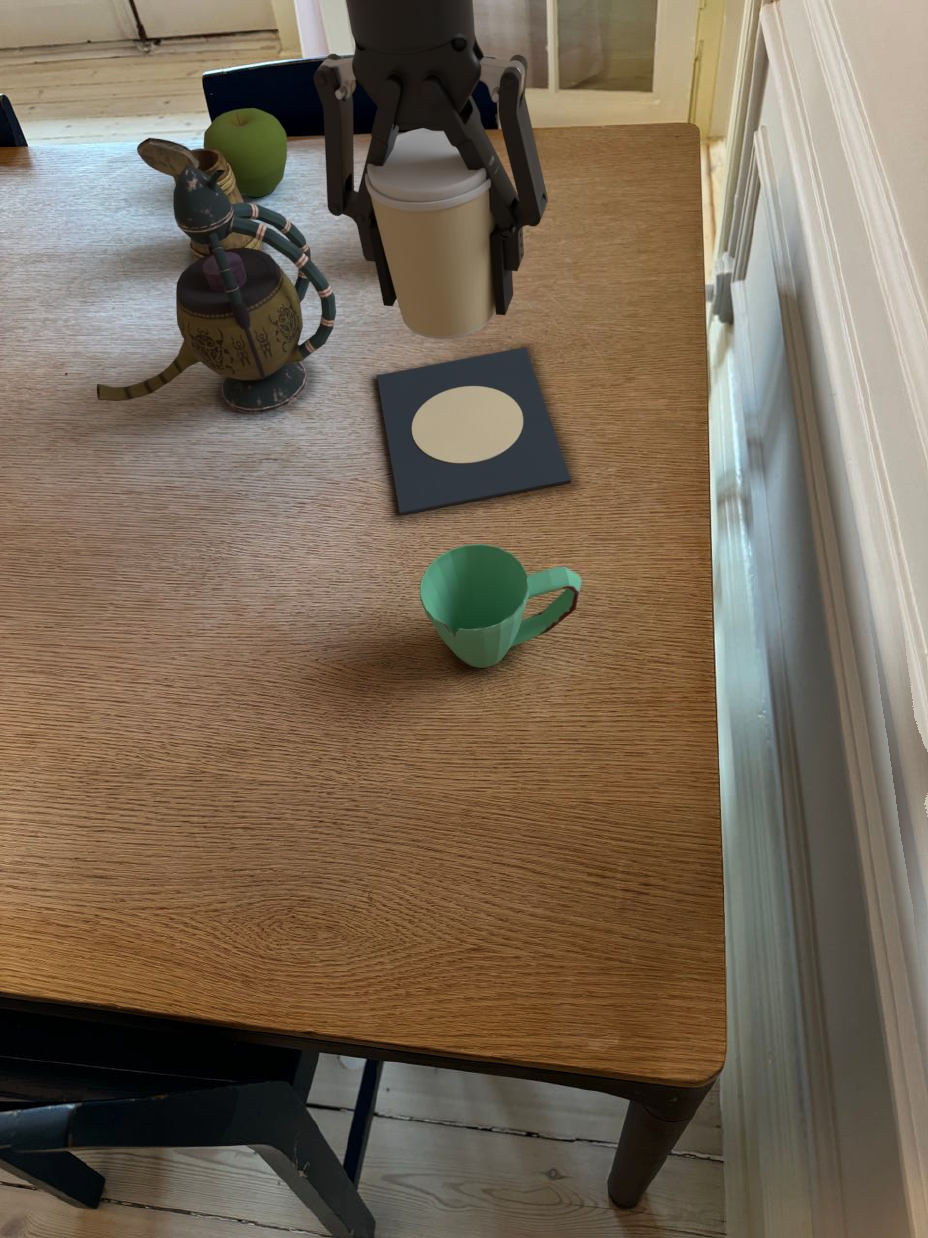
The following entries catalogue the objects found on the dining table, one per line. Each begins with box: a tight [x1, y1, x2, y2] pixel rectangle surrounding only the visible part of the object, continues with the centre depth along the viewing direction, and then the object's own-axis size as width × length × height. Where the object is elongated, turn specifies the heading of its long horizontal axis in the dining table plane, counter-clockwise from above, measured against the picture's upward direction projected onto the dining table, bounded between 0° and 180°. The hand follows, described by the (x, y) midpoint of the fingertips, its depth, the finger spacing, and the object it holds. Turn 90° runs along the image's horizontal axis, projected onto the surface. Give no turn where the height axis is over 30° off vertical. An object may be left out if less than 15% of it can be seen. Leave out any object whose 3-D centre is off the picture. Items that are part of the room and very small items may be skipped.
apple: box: [202, 107, 288, 198], centre depth 111 cm, size 11×10×10 cm
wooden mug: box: [136, 137, 263, 263], centre depth 98 cm, size 9×14×18 cm, turn 173°
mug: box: [419, 543, 582, 669], centre depth 65 cm, size 12×8×8 cm, turn 99°
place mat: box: [376, 346, 572, 516], centre depth 84 cm, size 20×16×1 cm
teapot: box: [96, 165, 337, 414], centre depth 81 cm, size 12×25×23 cm, turn 111°
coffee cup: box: [365, 128, 498, 340], centre depth 63 cm, size 9×9×12 cm
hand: (448, 299), depth 67 cm, fingers closed on coffee cup, 8 cm apart
